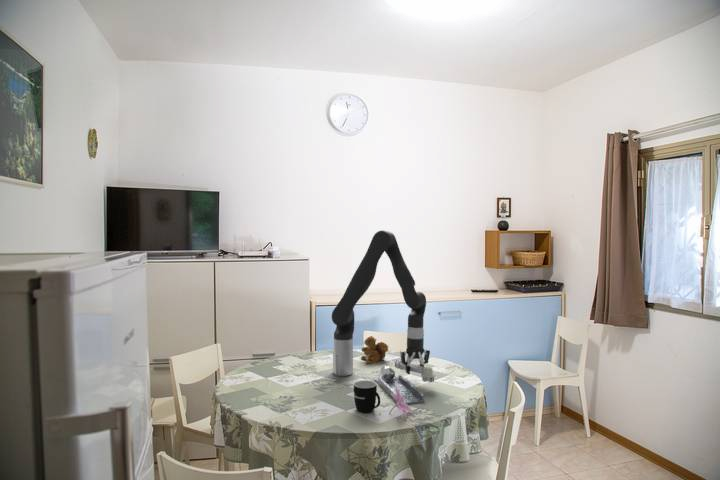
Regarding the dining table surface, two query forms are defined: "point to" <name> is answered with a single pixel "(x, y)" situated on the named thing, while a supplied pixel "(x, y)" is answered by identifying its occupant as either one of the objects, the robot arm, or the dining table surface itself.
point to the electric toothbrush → (418, 370)
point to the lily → (400, 403)
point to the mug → (365, 396)
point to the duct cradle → (399, 386)
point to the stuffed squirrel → (374, 350)
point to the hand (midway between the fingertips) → (414, 373)
